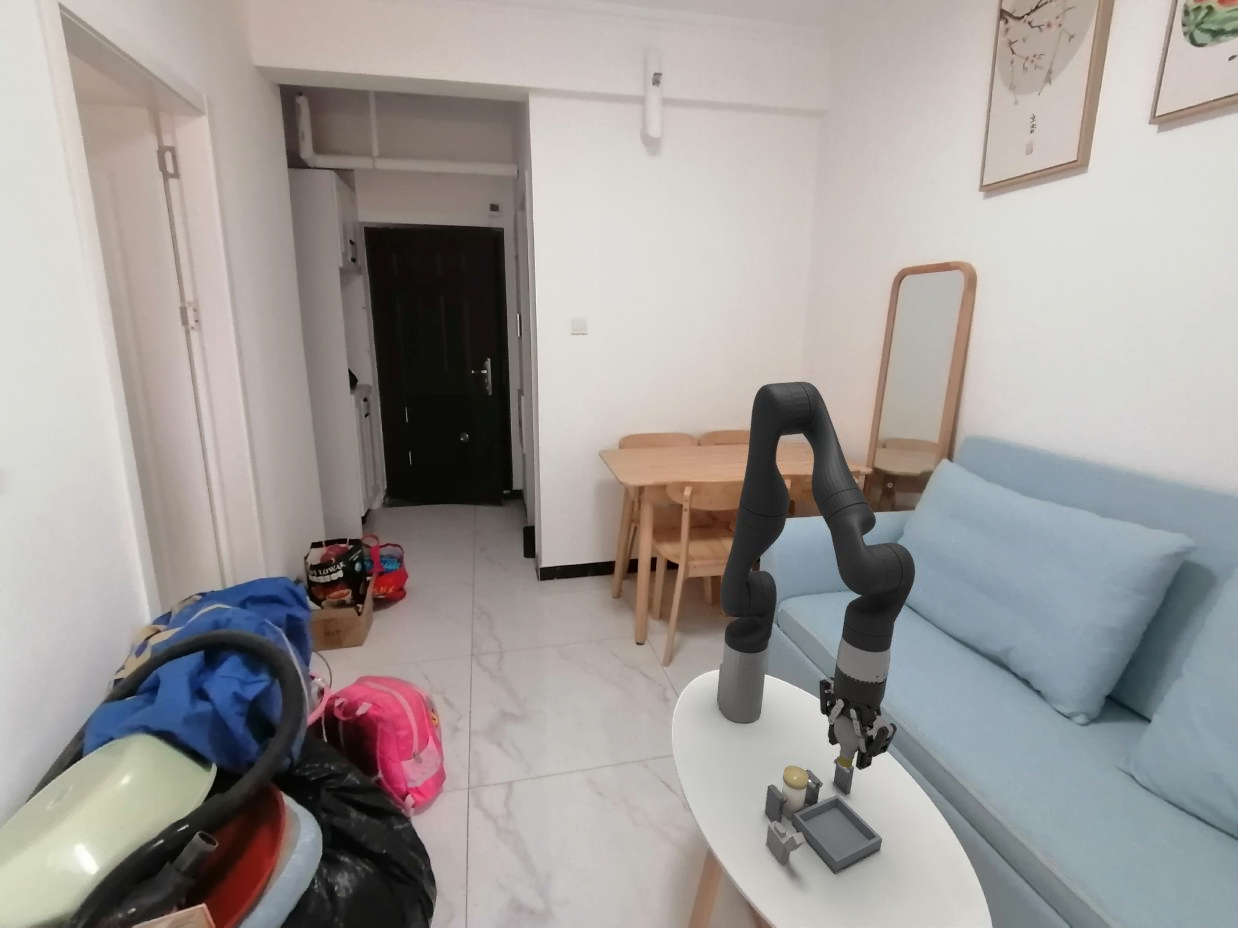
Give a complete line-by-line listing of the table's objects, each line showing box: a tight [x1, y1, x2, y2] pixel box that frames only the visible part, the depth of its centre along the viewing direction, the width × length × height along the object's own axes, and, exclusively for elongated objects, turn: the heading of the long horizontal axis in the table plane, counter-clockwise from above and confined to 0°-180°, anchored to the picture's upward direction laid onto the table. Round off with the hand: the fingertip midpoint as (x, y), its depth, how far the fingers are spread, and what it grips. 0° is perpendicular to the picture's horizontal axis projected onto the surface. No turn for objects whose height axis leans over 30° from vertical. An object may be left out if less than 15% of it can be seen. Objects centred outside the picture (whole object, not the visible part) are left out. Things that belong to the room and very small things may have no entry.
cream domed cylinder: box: [781, 765, 809, 821], centre depth 107 cm, size 4×4×8 cm
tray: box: [791, 794, 883, 875], centre depth 103 cm, size 10×10×2 cm
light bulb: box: [834, 714, 868, 768], centre depth 98 cm, size 5×6×10 cm
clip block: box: [764, 755, 855, 824], centre depth 109 cm, size 3×17×6 cm, turn 116°
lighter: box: [765, 821, 806, 865], centre depth 98 cm, size 7×2×8 cm, turn 23°
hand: (848, 754), depth 98 cm, fingers closed on light bulb, 5 cm apart
